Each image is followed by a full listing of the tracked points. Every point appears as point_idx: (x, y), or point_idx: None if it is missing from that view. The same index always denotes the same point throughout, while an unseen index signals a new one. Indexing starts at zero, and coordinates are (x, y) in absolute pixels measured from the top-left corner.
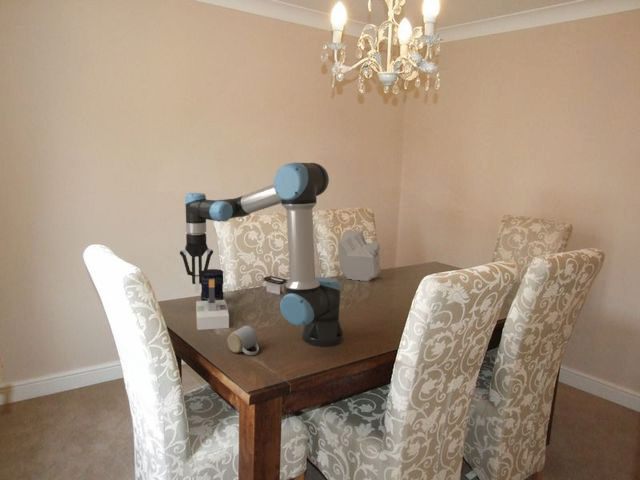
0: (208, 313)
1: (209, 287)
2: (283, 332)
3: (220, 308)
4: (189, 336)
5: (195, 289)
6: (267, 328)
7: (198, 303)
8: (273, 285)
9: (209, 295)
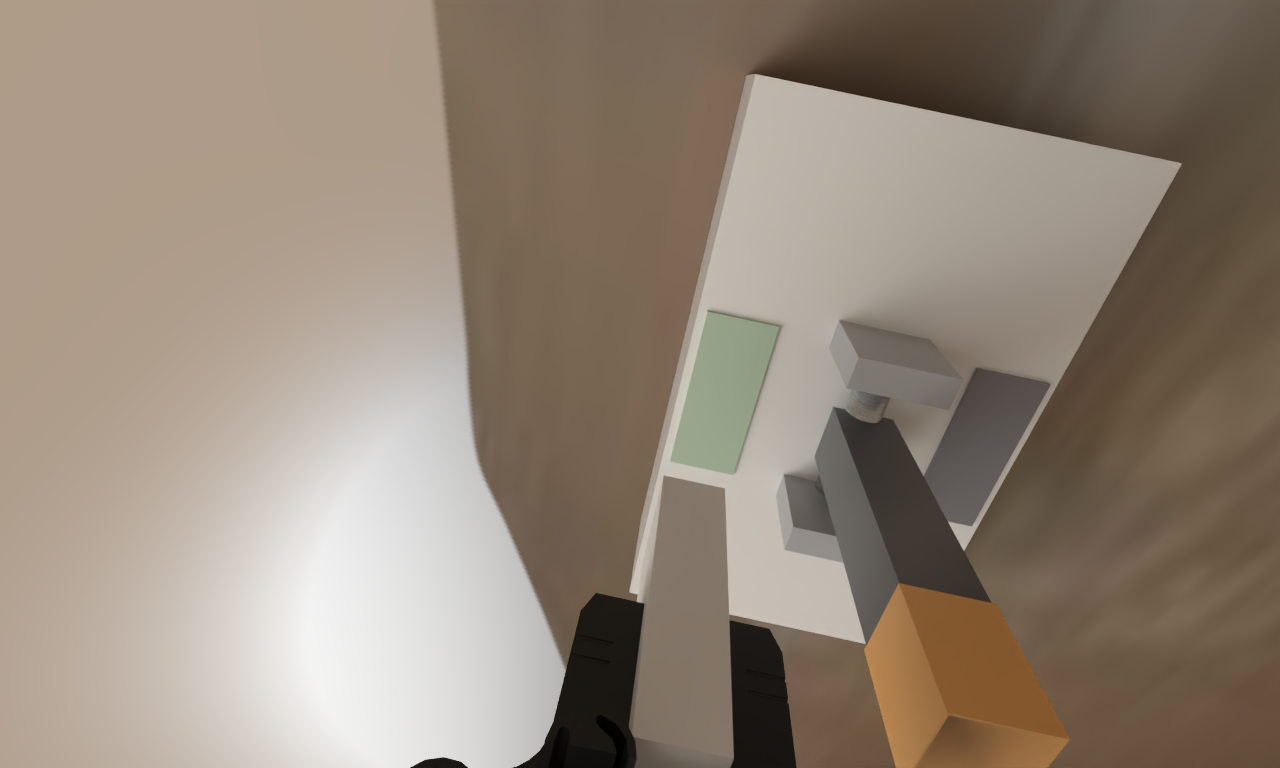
0: (756, 545)
1: (871, 652)
2: (1176, 755)
3: (925, 479)
4: (571, 588)
5: (638, 598)
6: (1132, 672)
7: (756, 196)
8: None
9: (843, 549)
